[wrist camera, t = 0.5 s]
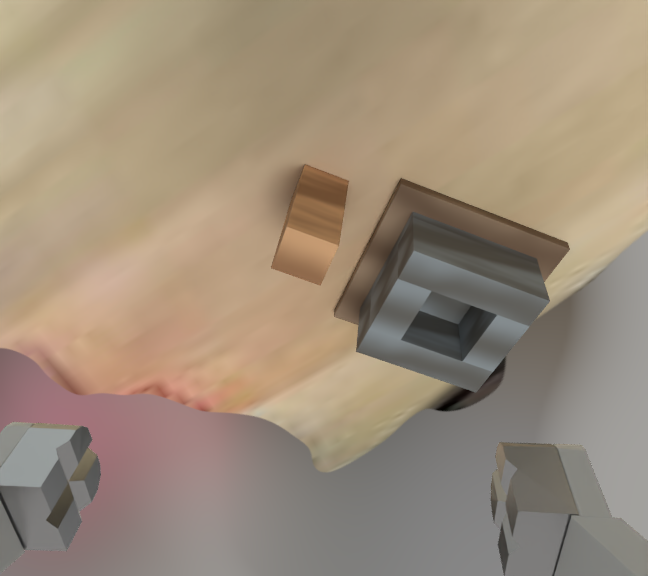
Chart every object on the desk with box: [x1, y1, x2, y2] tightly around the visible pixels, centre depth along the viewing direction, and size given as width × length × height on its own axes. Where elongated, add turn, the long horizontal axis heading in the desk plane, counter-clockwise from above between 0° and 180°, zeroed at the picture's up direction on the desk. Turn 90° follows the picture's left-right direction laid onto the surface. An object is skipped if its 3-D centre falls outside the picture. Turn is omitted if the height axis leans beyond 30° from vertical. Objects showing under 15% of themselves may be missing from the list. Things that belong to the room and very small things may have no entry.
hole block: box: [334, 179, 570, 392], centre depth 53 cm, size 16×16×7 cm
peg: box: [271, 165, 349, 285], centre depth 48 cm, size 4×4×10 cm
